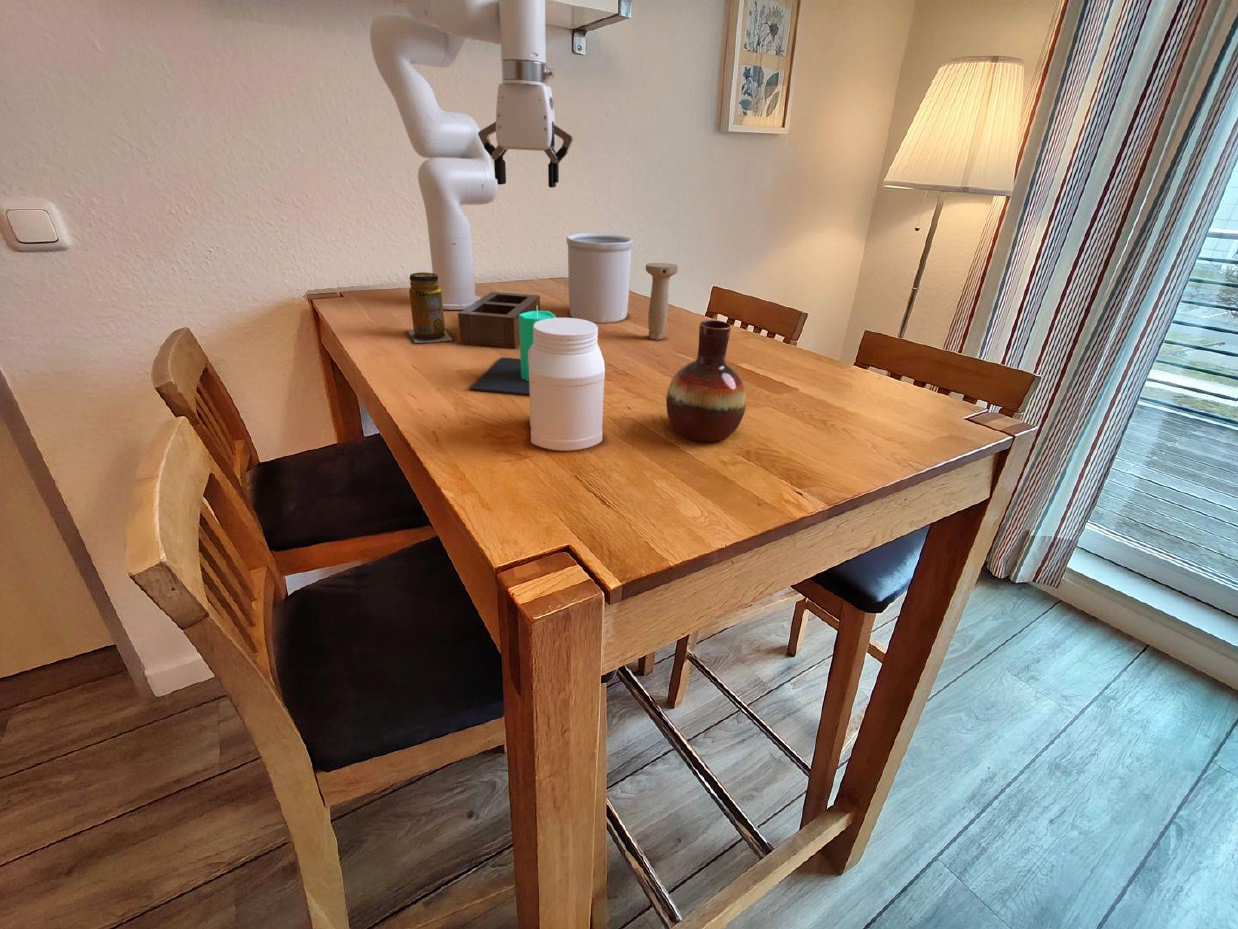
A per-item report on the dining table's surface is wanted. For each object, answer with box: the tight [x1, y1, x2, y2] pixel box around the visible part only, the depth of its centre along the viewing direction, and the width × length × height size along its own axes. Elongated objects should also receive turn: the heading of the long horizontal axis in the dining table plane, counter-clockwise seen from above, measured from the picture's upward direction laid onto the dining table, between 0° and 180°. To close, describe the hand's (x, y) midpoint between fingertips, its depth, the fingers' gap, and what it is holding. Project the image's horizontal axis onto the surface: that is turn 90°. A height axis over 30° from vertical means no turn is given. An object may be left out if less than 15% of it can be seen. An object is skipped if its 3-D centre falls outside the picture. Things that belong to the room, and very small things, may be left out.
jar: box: [528, 317, 606, 452], centre depth 78 cm, size 12×10×15 cm
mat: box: [470, 357, 530, 397], centre depth 100 cm, size 18×16×1 cm
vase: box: [665, 319, 747, 443], centre depth 80 cm, size 11×11×15 cm
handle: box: [645, 262, 679, 341], centre depth 121 cm, size 5×6×15 cm
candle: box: [519, 305, 557, 381], centre depth 97 cm, size 6×6×12 cm
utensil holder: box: [566, 232, 634, 324], centre depth 135 cm, size 15×15×18 cm
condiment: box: [407, 272, 453, 344], centre depth 115 cm, size 7×8×12 cm
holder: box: [457, 291, 541, 349], centre depth 122 cm, size 11×20×6 cm, turn 173°
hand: (527, 185), depth 109 cm, fingers open, 9 cm apart
